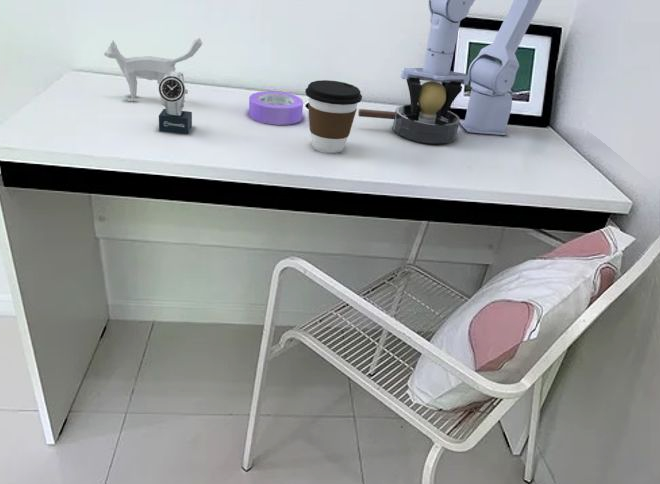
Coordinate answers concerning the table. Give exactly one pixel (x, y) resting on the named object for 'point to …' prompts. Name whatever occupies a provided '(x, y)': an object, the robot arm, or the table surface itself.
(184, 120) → the watch
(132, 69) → the cat figurine
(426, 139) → the pan
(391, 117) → the pan handle
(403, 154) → the table surface
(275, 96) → the tape roll
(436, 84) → the light bulb
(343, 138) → the coffee cup
